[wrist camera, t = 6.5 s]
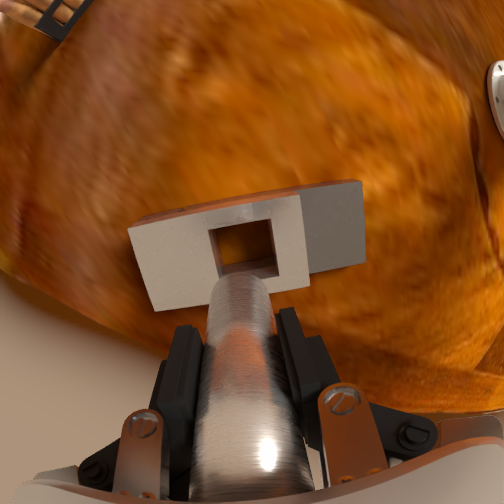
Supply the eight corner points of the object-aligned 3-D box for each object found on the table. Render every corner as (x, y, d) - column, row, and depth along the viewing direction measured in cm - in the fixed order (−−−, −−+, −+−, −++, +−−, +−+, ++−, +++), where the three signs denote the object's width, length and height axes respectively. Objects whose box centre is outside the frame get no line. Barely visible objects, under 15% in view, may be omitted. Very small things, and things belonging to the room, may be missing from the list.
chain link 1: (289, 187, 22) (299, 194, 18) (299, 265, 25) (310, 285, 21) (144, 216, 22) (127, 228, 19) (165, 288, 25) (155, 311, 21)
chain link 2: (352, 178, 22) (361, 181, 20) (357, 254, 25) (365, 262, 23) (188, 206, 22) (183, 211, 20) (206, 282, 25) (204, 292, 23)
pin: (272, 255, 14) (379, 577, 1) (282, 323, 15) (348, 574, 3) (192, 270, 14) (120, 582, 1) (211, 335, 15) (198, 588, 3)
